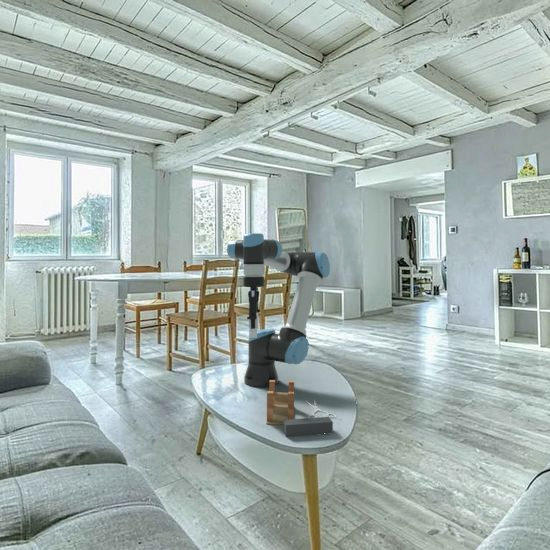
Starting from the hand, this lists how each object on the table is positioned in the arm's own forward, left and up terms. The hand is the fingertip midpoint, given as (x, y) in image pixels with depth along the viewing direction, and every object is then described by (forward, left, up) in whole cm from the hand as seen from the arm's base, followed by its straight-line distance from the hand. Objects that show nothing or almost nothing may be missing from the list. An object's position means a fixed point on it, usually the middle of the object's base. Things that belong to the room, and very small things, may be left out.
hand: (254, 333), depth 141 cm
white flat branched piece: (+1, +23, -28) cm, 36 cm away
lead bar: (+20, +19, -27) cm, 39 cm away
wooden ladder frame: (+7, +11, -27) cm, 30 cm away
